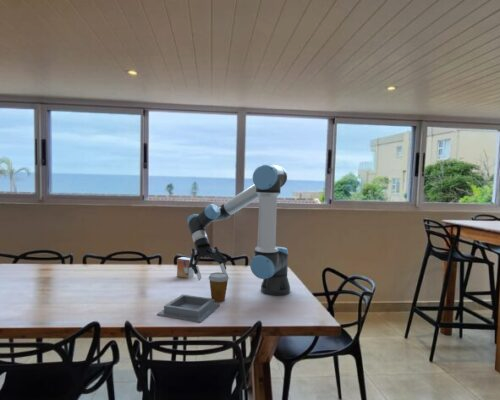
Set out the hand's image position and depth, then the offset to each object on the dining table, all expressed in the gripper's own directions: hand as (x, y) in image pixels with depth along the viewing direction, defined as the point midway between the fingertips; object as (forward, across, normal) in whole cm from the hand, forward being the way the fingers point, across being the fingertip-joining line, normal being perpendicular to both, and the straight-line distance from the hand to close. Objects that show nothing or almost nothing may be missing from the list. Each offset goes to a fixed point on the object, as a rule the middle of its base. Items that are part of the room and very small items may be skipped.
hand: (213, 277), depth 172 cm
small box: (-21, -2, -35) cm, 41 cm away
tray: (+14, +16, +1) cm, 22 cm away
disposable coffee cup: (+10, -1, -4) cm, 11 cm away
